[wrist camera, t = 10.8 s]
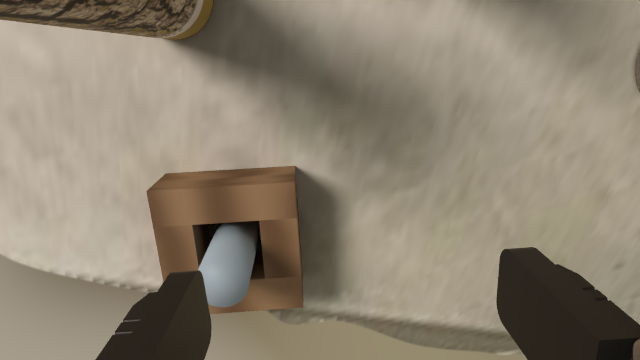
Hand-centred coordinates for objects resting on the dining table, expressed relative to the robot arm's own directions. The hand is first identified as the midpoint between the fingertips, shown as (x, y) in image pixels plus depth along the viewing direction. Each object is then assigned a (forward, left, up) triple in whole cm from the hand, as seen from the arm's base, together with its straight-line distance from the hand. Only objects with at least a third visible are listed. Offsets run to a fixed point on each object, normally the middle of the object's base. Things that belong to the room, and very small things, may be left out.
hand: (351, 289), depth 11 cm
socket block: (+8, +10, -27) cm, 30 cm away
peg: (+8, +10, -27) cm, 30 cm away
